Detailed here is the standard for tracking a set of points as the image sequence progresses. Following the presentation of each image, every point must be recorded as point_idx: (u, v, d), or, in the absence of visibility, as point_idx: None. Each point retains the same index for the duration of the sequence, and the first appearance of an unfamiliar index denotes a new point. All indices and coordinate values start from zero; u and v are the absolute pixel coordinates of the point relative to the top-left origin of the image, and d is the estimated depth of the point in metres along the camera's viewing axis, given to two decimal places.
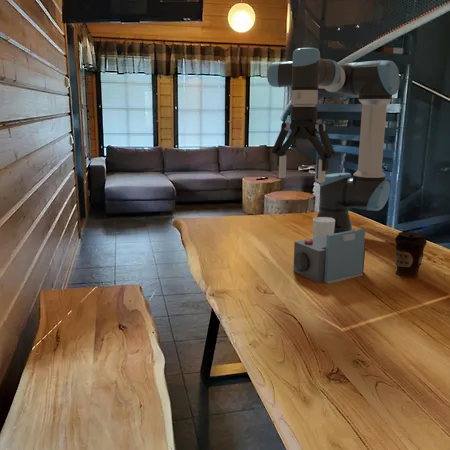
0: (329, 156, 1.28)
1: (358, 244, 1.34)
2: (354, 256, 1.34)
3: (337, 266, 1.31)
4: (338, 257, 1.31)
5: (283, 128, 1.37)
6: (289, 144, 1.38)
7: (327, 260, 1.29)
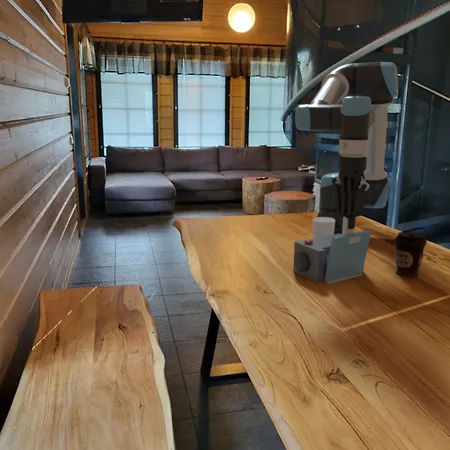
0: (353, 215, 1.26)
1: (362, 246, 1.32)
2: (357, 257, 1.33)
3: (339, 267, 1.31)
4: (341, 258, 1.30)
5: (335, 183, 1.31)
6: (347, 198, 1.29)
7: (330, 261, 1.28)
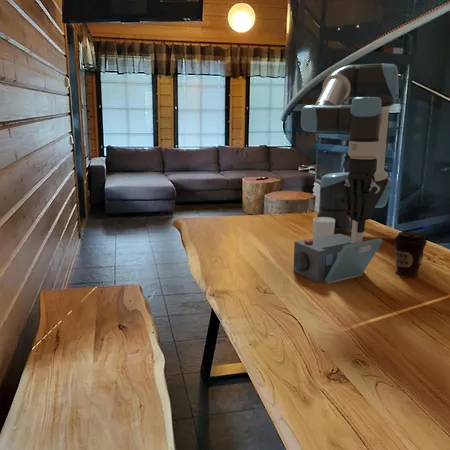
0: (363, 218, 1.23)
1: (370, 252, 1.30)
2: (362, 262, 1.32)
3: (342, 270, 1.30)
4: (346, 263, 1.28)
5: (343, 185, 1.28)
6: (356, 201, 1.26)
7: (335, 266, 1.27)
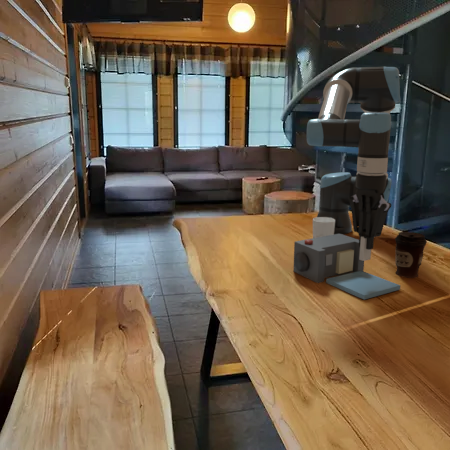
0: (372, 235, 1.21)
1: None
2: None
3: None
4: None
5: (352, 201, 1.26)
6: (365, 217, 1.24)
7: (343, 290, 1.25)
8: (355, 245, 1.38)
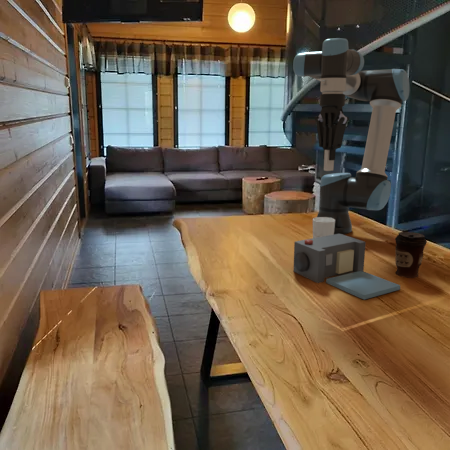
0: (333, 147, 1.42)
1: None
2: None
3: None
4: None
5: (317, 120, 1.46)
6: (328, 133, 1.44)
7: (343, 290, 1.25)
8: (355, 245, 1.38)
